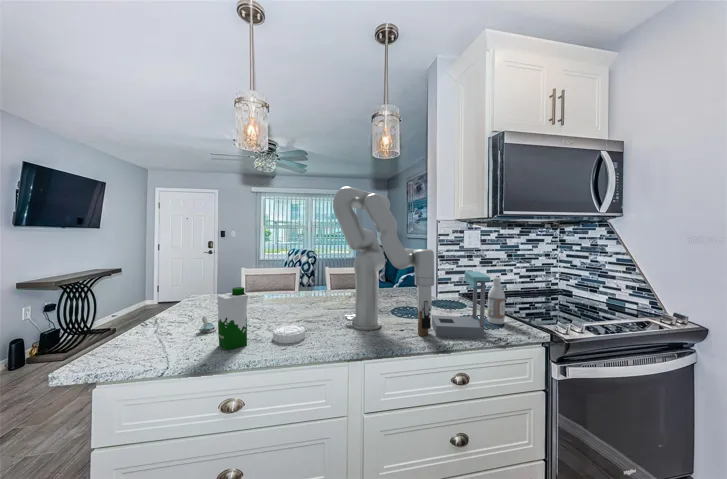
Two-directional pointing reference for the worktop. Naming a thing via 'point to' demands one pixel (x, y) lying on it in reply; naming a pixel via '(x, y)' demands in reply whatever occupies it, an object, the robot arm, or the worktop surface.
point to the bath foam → (496, 303)
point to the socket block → (457, 326)
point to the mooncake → (289, 334)
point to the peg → (421, 331)
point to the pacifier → (207, 326)
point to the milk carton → (232, 319)
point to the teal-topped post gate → (472, 279)
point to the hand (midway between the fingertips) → (424, 324)
